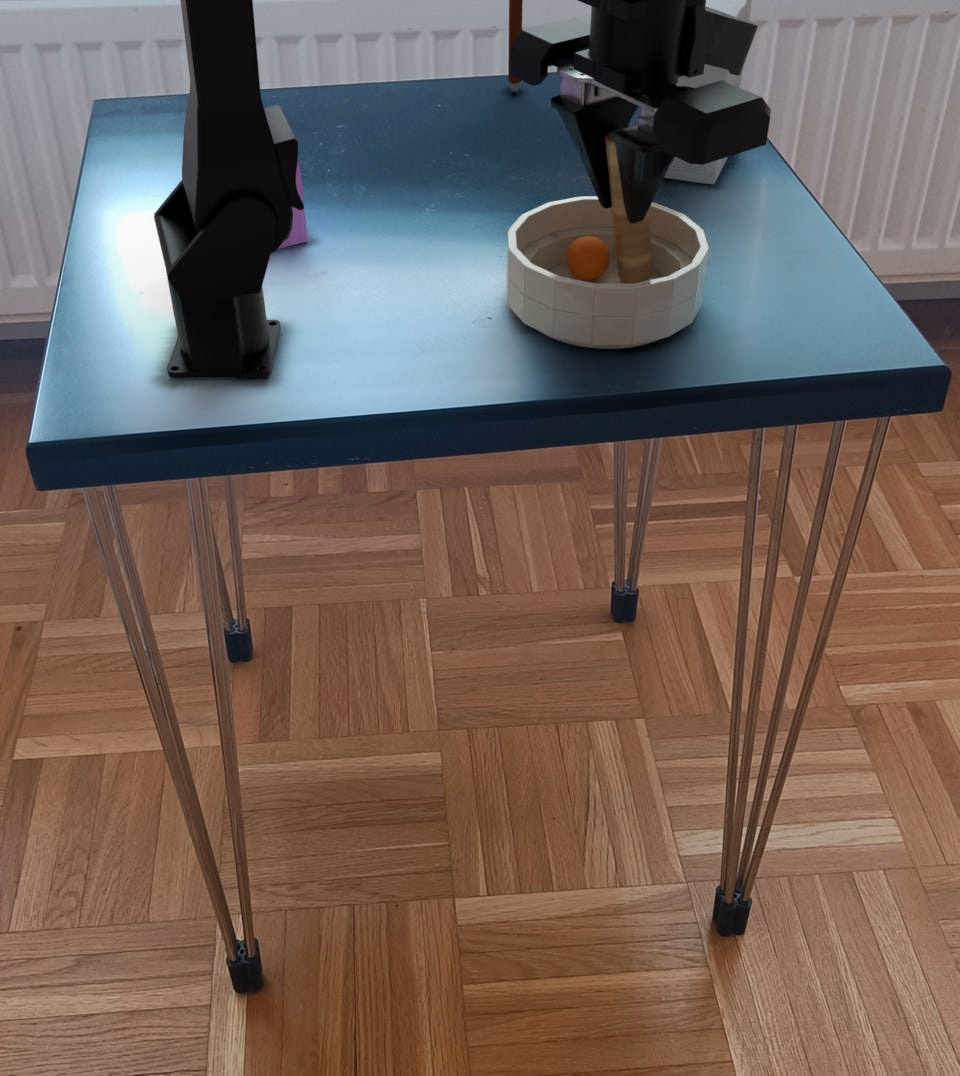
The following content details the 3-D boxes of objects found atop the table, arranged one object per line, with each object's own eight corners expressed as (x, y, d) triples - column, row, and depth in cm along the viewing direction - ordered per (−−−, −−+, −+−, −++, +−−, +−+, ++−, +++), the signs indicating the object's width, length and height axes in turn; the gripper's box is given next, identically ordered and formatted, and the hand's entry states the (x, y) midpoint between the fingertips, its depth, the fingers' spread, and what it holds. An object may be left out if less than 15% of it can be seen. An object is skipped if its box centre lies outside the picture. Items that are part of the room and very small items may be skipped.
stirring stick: (647, 284, 85) (636, 142, 79) (614, 282, 86) (600, 142, 80) (657, 267, 87) (647, 127, 81) (624, 265, 88) (611, 127, 82)
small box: (661, 138, 108) (676, -20, 100) (734, 148, 106) (755, -12, 98) (637, 175, 102) (651, 10, 94) (714, 186, 100) (735, 19, 92)
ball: (599, 293, 86) (600, 257, 84) (559, 283, 87) (559, 247, 85) (615, 269, 88) (617, 232, 85) (576, 259, 89) (576, 223, 86)
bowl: (712, 356, 81) (722, 287, 78) (509, 357, 81) (510, 288, 78) (685, 260, 91) (693, 195, 88) (504, 260, 91) (505, 196, 88)
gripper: (857, -18, 71) (810, 234, 81) (642, -87, 83) (624, 141, 93) (713, 18, 66) (682, 282, 76) (506, -61, 78) (503, 177, 88)
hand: (622, 214), depth 83 cm, fingers closed on stirring stick, 2 cm apart
